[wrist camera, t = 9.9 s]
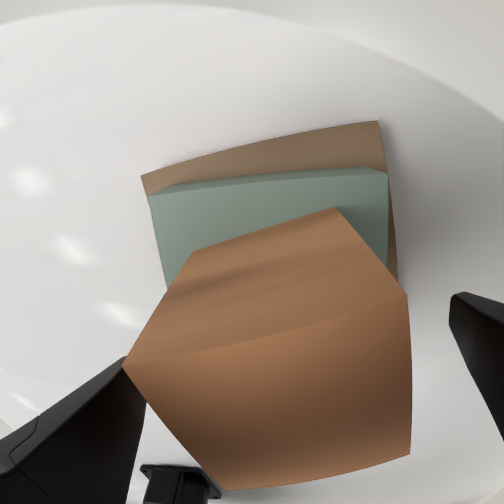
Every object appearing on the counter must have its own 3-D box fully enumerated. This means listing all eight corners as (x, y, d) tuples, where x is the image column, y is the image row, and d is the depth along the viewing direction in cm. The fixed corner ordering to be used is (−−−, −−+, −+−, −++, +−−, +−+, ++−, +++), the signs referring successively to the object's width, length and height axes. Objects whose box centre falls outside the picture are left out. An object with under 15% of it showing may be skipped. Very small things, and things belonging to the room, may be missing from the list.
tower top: (363, 333, 14) (375, 366, 12) (202, 346, 15) (192, 379, 13) (366, 166, 12) (387, 174, 9) (169, 185, 12) (147, 196, 10)
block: (362, 328, 11) (409, 454, 6) (242, 360, 12) (225, 490, 7) (334, 206, 10) (406, 293, 4) (192, 251, 11) (121, 365, 5)
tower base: (384, 304, 17) (398, 328, 14) (215, 338, 18) (208, 365, 16) (360, 122, 13) (377, 120, 11) (159, 169, 15) (140, 175, 12)
